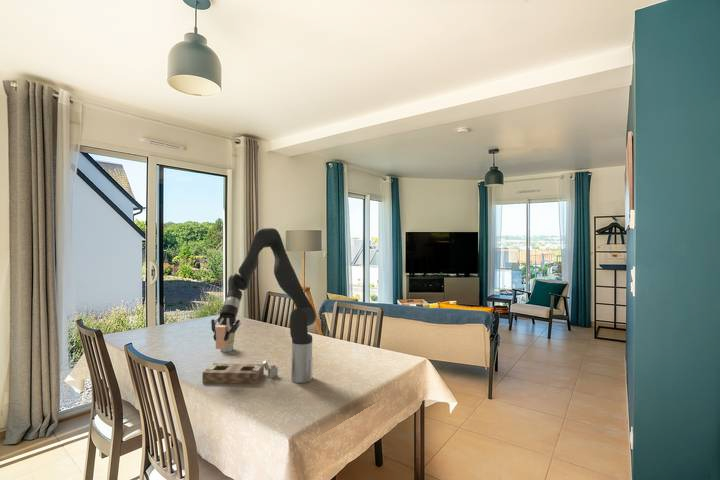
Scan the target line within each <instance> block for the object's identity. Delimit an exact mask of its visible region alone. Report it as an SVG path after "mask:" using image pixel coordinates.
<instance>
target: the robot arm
mask: <svg viewBox="0 0 720 480" xmlns="http://www.w3.org/2000/svg"><path fill="white" fill-rule="evenodd" d="M264 248H270V249H271V251H272V254H273V256H274V265H273V274H274V277H275V279H276V281H277V283H278V286H279V287H280V288H281V289H282V291H283V292H284V293H285V294H286V295H288V297H289V298H290V299H291V300H292V301H293V303H294V305H295V307H296V308H294V309H293V310H292V311H291V313H290V315H289V326H290V327H289V333H290V338H291V369H290V371H291V373H290V374H291V375H290V377H291V378H290V379H291V381H292V382H293V383H296V384H297V383H298V384H305V383H310V382H312V379H313V369H314V368H313V366H314V365H313V364H314V361H313V360H314V359H313V336H312V335H311V334H310V333H308V327H310V326H312V325H313V324H314V323H315V322H316V320H317V319H316V318H317V316H316V315H317V314H316V310H315V309H314V307H313V306H312V304H311V302H310V300H309V298H308V297H307V295H306V293H305V291H304V288H303V286H302V285H301V283H300V280H299V278H298V276H297V274H296V272H295V271H296V270H295V269H294V267H293V266H292V265H293V264H292V263H291V261H290V259H289V257H288V254H287V252H286V249H285V245H284V242H283V240H282V236H281V234H280V232H279V231H278V230H277V229H276V228H275V227H274V228H273V227H269V228H268V227H265V228H264V227H263V228H259V229H257V231H255V234H254V235H253V238H252V241H251V243H250V246H249V249H248V251H247V254H246V257H245V258H244V259H243V261H242V263H241V265H240V266H239V268H238V273H236V272H234V273H233V272H232V273H231V274H230V275H229V277H228V280H227V287H228V288H227V295H226V297H225V300H224V302H223V304H222V306H221V310H220V313H219V316H218V318H217V319H214V318H212V319H211V323H210V324H211V331H212V332H213V337H212V338H213V341H215V342H216V327H217V326H218V325H228V326H227V332H226V334H225V337H224V340H225V341H227V340H228V339H229V336H230V334H231V333H235V334H236V331H237V330H238V328H239V327H240V326H241V323H242V322H241V320H240V319H237V315H238V312H239V310H240V303H241V300H242V298H243V292H242V291H245V290H247V289H248V288H249V286H250V281H251V277H252V275H253V273H254V272H255V270H256V269H257V267H258V264H259V254H260V253H261V251H262V250H263V249H264ZM233 324H234V326H233V327H232V329H231V325H233Z"/></svg>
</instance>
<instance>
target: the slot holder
mask: <svg viewBox="0 0 720 480" xmlns="http://www.w3.org/2000/svg"><path fill="white" fill-rule="evenodd" d="M264 372H265V367H264V365H263V363H262V364H261V363H260V364H259V363H256V364H255V363H221V362H220V363H218V362H213V363H212V364H211V365H209V366H208V367H207V368H206V369H205V370H203V371H202V381H201V382H205V383H206V382H207V383H209V384H212V383H213V384H254V385H257V384H258V383H259V381H260V380H261V378H262V377H263V376H264V374H265V373H264Z"/></svg>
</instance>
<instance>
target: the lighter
mask: <svg viewBox="0 0 720 480" xmlns="http://www.w3.org/2000/svg"><path fill="white" fill-rule="evenodd" d="M262 364H263V365H264V370H266V371H267V377H268V378H269V379H272V378H275V377H278V376H279V375H278V372H279V371H278V370H279V369H278V368H279V366H277V365H276V364H271V365H269V363H268V362H267V361H266V360H264V361H263V362H262Z"/></svg>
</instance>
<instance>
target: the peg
mask: <svg viewBox="0 0 720 480" xmlns="http://www.w3.org/2000/svg"><path fill="white" fill-rule="evenodd" d="M217 325H218V324H217ZM217 325H216V326H215V327H216V341H215V350H220V349H225V348H226V347H228V340H227V341H225V340H224V337H225V334H226V332H227V326H228V325H218V326H217Z"/></svg>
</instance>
